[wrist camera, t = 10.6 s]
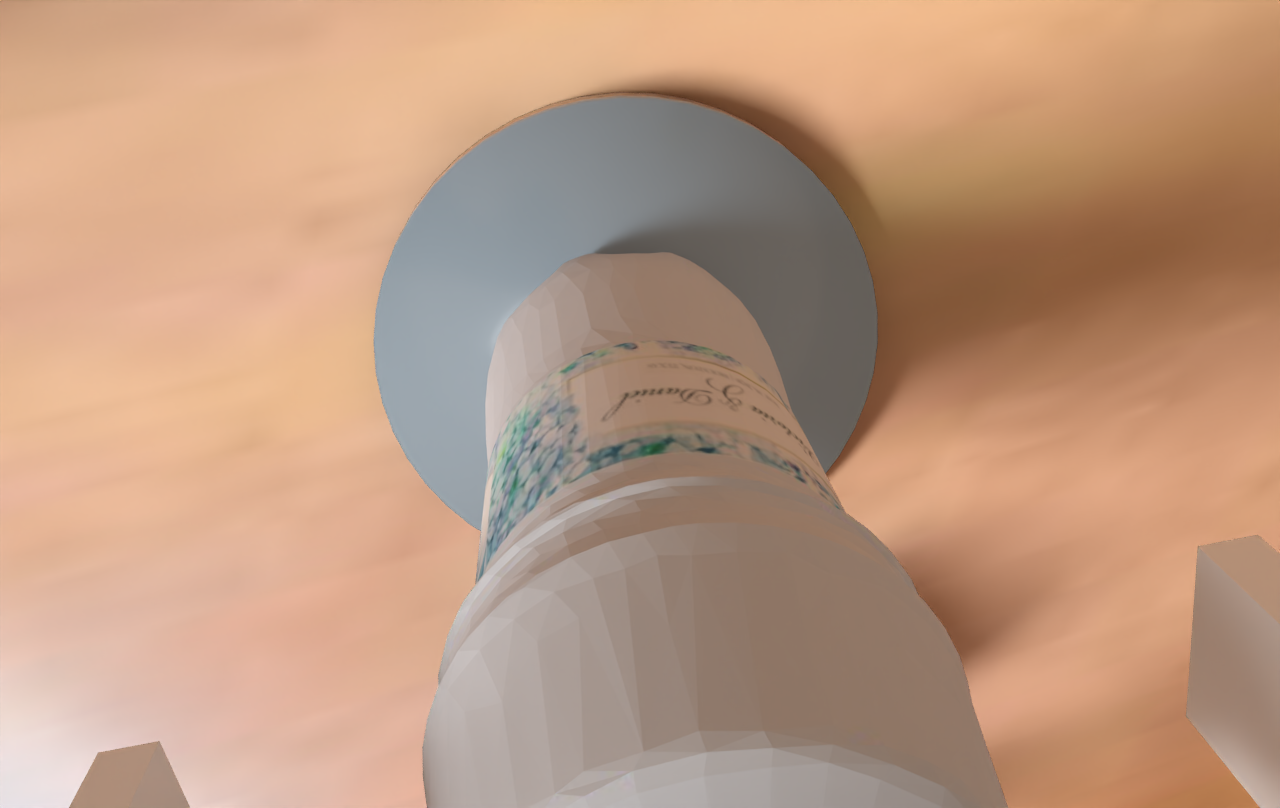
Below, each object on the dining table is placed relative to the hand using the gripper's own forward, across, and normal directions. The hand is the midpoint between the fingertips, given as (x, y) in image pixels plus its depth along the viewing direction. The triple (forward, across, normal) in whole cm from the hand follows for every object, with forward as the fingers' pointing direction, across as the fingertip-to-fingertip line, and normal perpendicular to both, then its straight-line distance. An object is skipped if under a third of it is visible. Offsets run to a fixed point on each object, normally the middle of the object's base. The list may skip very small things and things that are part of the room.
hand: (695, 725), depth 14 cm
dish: (+14, 0, 0) cm, 14 cm away
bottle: (+13, 0, 0) cm, 13 cm away
